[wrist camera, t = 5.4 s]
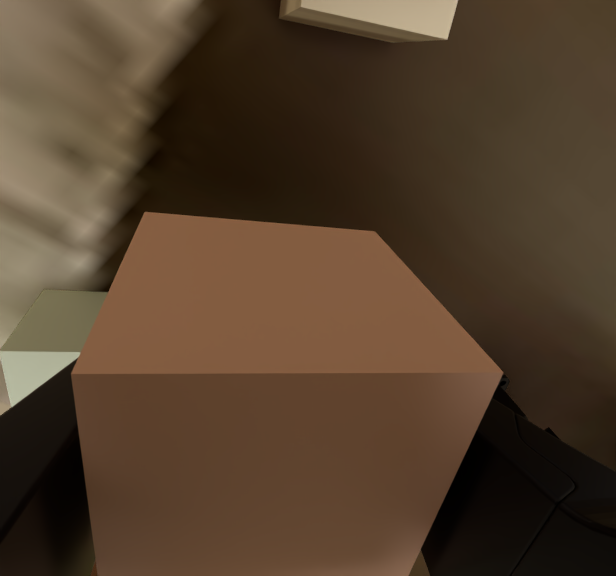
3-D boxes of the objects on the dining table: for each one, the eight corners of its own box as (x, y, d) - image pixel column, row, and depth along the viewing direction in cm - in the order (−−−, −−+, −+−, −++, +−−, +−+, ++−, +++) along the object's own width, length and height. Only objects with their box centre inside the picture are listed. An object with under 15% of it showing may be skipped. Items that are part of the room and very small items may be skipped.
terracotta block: (334, 395, 12) (402, 587, 8) (149, 398, 11) (104, 628, 6) (375, 231, 10) (503, 372, 5) (144, 211, 8) (70, 373, 4)
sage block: (153, 369, 24) (140, 438, 20) (56, 369, 23) (19, 442, 18) (152, 293, 22) (137, 352, 17) (44, 288, 20) (-2, 351, 16)
